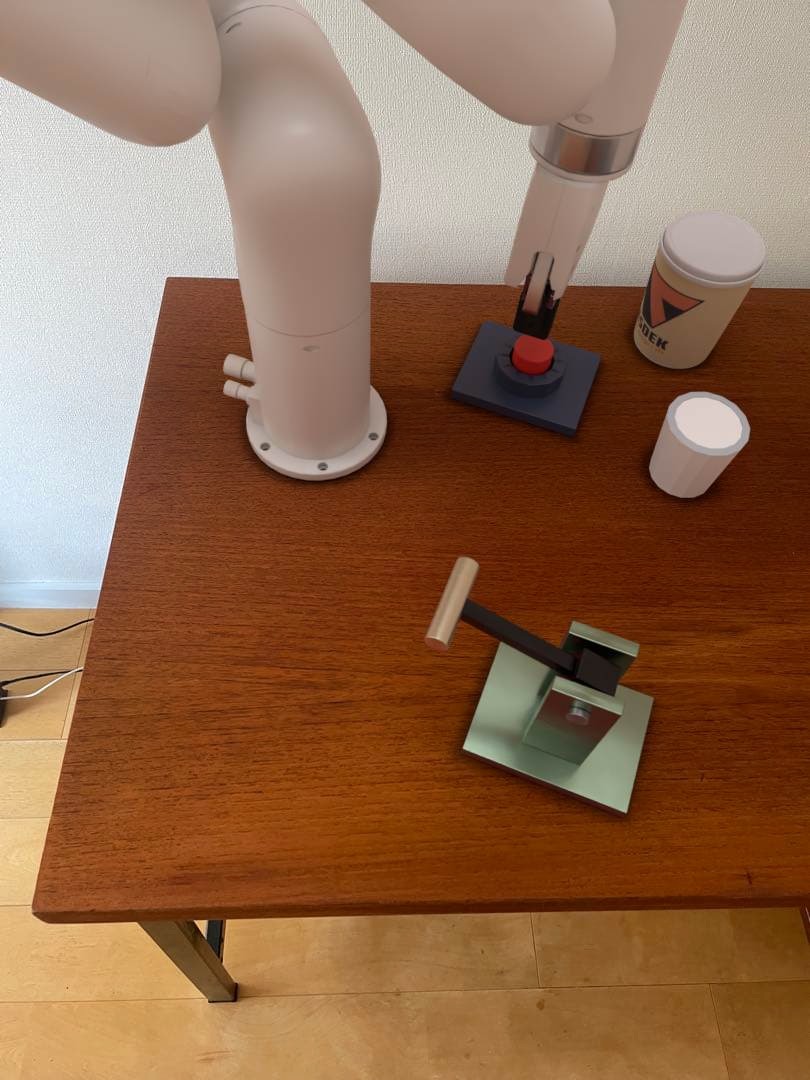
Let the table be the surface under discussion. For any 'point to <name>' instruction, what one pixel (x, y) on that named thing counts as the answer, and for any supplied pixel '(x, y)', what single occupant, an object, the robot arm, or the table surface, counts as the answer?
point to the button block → (526, 381)
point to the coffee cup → (696, 286)
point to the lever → (513, 634)
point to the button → (532, 355)
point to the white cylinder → (697, 443)
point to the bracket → (563, 723)
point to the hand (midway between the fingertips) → (531, 329)
